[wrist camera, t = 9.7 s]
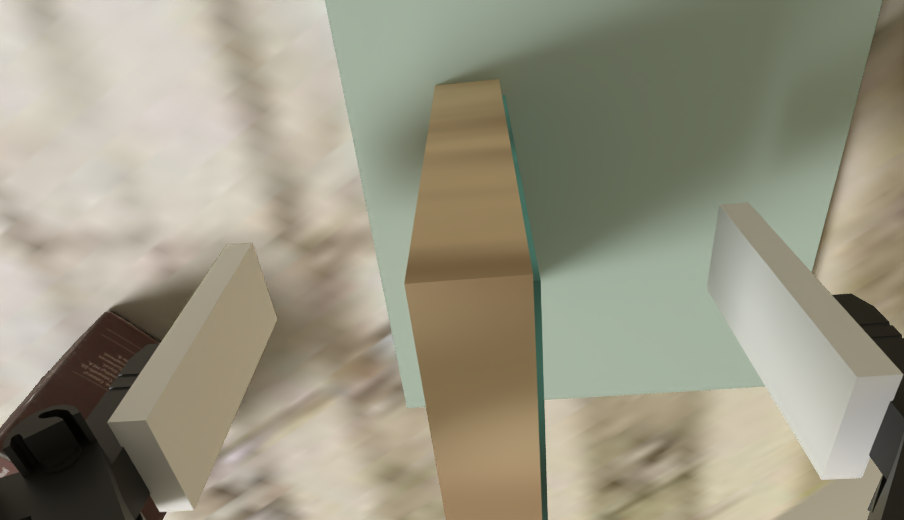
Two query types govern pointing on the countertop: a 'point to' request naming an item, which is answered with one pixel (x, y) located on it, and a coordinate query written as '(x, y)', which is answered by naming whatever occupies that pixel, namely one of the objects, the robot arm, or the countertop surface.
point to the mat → (614, 157)
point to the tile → (478, 311)
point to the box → (83, 380)
